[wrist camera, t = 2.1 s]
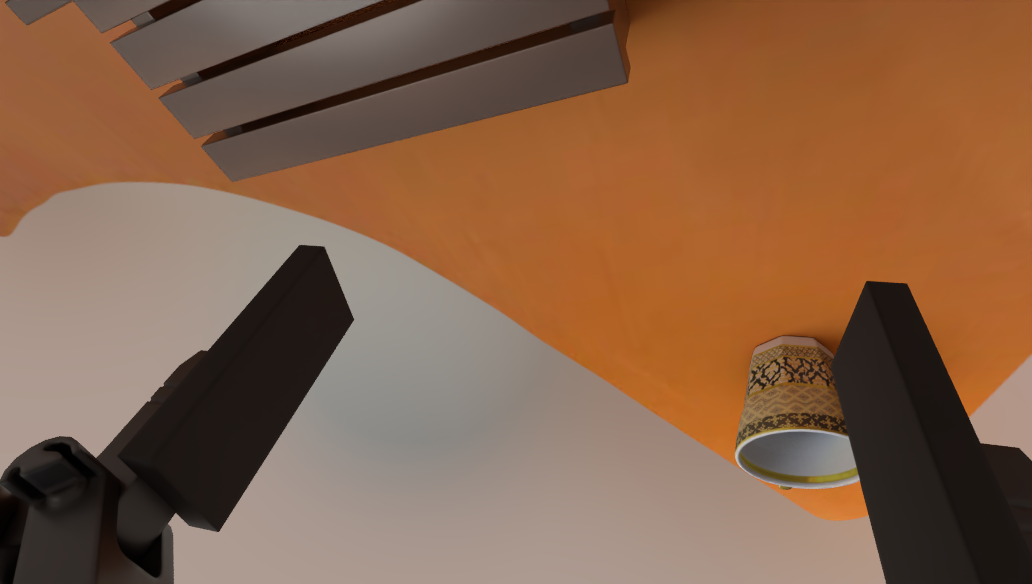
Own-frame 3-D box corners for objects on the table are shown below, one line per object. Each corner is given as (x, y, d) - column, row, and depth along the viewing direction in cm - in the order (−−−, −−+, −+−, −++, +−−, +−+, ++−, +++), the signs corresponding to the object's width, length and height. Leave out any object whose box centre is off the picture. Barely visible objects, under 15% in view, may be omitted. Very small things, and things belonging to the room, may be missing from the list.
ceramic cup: (738, 319, 47) (744, 422, 40) (870, 327, 44) (898, 439, 38) (721, 398, 56) (724, 493, 50) (829, 409, 53) (846, 510, 47)
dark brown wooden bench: (152, -86, 32) (-11, -12, 25) (569, -334, 21) (501, -334, 14) (299, 121, 41) (212, 220, 34) (643, 19, 30) (625, 132, 23)
